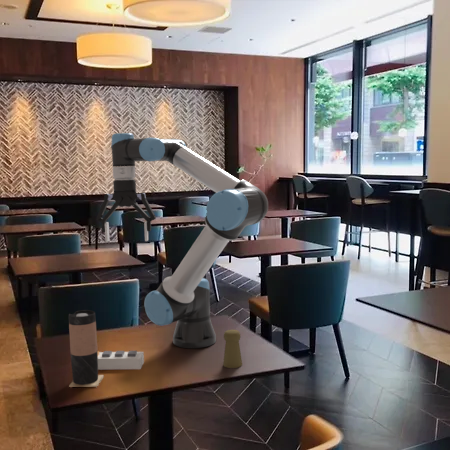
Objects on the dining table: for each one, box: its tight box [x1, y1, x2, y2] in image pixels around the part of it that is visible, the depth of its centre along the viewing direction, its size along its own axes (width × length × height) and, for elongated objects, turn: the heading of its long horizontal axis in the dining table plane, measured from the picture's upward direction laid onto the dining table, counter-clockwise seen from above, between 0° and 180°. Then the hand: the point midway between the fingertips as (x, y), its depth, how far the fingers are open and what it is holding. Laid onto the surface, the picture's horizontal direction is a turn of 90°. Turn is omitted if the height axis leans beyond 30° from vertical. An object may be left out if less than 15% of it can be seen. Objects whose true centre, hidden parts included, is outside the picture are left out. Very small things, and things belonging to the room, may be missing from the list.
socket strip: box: [97, 350, 145, 371], centre depth 179 cm, size 18×6×4 cm, turn 88°
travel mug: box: [68, 309, 99, 385], centre depth 165 cm, size 8×8×20 cm
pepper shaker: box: [222, 329, 243, 369], centre depth 177 cm, size 6×6×11 cm
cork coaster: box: [68, 374, 105, 388], centre depth 166 cm, size 8×8×1 cm
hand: (127, 241), depth 195 cm, fingers open, 13 cm apart
